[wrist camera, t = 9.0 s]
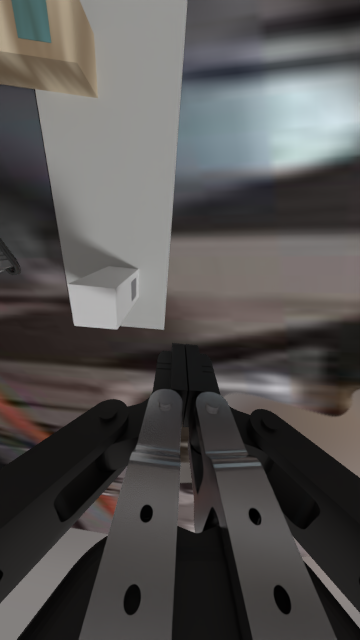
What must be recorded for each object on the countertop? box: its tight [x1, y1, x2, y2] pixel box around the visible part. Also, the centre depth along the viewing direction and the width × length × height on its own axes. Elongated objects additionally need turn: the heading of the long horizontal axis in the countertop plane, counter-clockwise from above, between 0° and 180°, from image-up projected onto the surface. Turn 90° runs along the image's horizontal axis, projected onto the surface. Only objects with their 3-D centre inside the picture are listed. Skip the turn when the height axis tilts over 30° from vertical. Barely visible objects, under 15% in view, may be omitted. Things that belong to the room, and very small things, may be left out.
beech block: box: [0, 0, 98, 98], centre depth 15 cm, size 4×4×10 cm
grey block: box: [68, 266, 139, 329], centre depth 21 cm, size 4×4×10 cm
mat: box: [35, 0, 187, 330], centre depth 21 cm, size 14×34×1 cm, turn 174°
